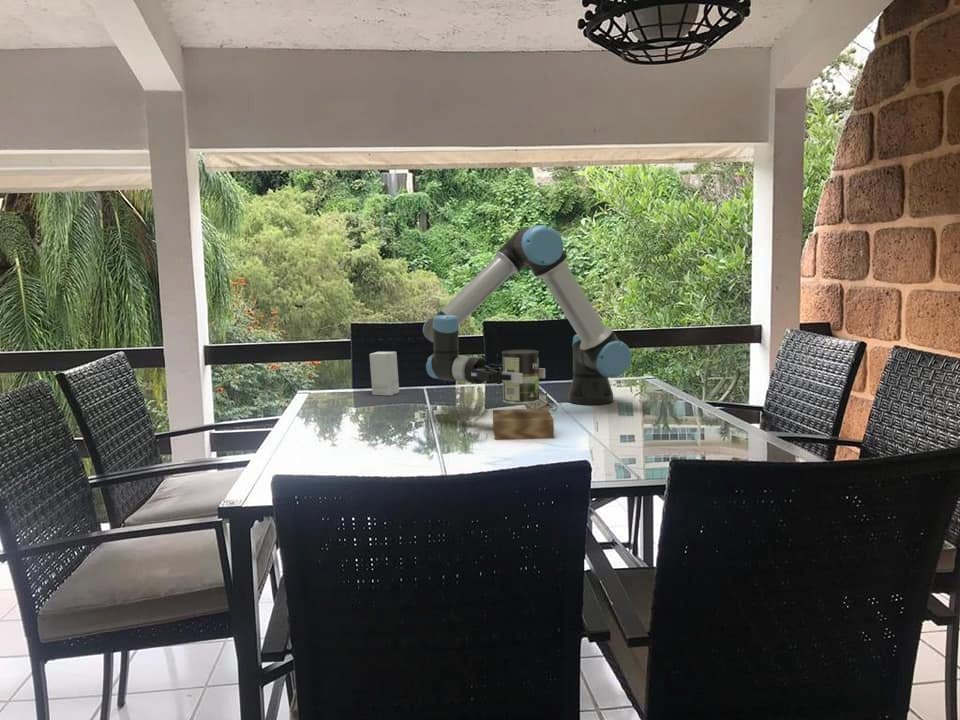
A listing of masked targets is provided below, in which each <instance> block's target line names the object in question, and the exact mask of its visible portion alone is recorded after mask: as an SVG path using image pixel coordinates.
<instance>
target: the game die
mask: <svg viewBox="0 0 960 720" xmlns="http://www.w3.org/2000/svg"><path fill="white" fill-rule="evenodd" d="M522 405H524V406H525V409H545V408H548V410H549V411H550V409H554V406H551V404H550V401H549V399H548V392H545V394H541V393H539V402H537V403H533V404H522Z"/></svg>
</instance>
